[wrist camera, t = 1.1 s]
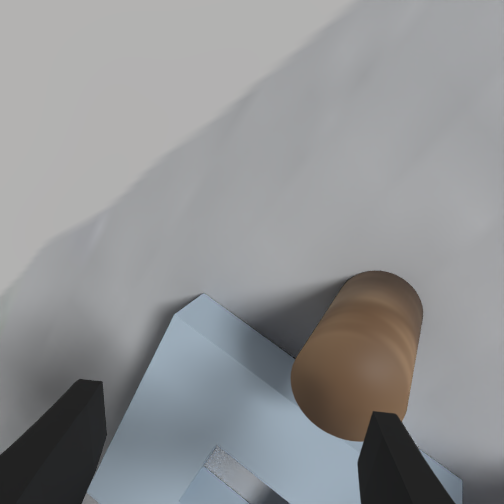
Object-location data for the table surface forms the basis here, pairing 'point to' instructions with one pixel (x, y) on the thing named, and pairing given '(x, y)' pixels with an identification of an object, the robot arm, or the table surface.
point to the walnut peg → (360, 355)
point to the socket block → (225, 423)
